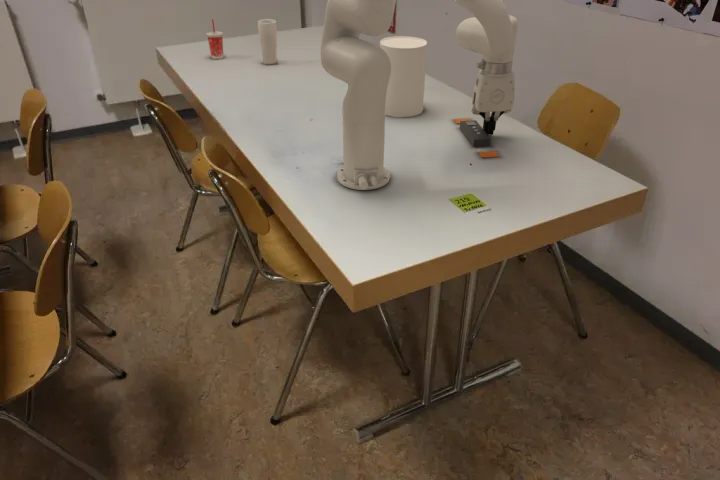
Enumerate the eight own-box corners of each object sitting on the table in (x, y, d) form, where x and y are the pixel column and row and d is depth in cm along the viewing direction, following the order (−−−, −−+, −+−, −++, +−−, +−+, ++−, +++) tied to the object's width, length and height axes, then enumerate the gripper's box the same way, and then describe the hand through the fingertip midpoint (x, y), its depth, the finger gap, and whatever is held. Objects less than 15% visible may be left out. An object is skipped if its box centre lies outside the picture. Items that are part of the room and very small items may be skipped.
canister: (371, 104, 178) (372, 38, 167) (411, 99, 182) (414, 34, 171) (388, 119, 168) (391, 50, 157) (430, 113, 172) (435, 45, 161)
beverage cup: (208, 55, 223) (203, 18, 215) (224, 54, 224) (220, 17, 217) (210, 60, 218) (204, 21, 210) (226, 58, 219) (221, 20, 212)
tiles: (499, 157, 147) (499, 155, 147) (482, 158, 146) (482, 157, 146) (469, 119, 168) (469, 118, 168) (453, 120, 168) (454, 119, 168)
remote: (489, 146, 152) (491, 137, 151) (473, 147, 152) (474, 138, 150) (475, 127, 163) (476, 119, 162) (459, 128, 163) (460, 120, 161)
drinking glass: (258, 61, 217) (254, 20, 208) (275, 59, 219) (272, 18, 211) (264, 66, 211) (260, 24, 203) (281, 64, 214) (278, 22, 206)
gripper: (473, 72, 143) (466, 140, 153) (530, 69, 145) (519, 136, 155) (464, 63, 149) (458, 129, 160) (519, 60, 151) (509, 126, 161)
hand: (488, 133), depth 157 cm, fingers closed
